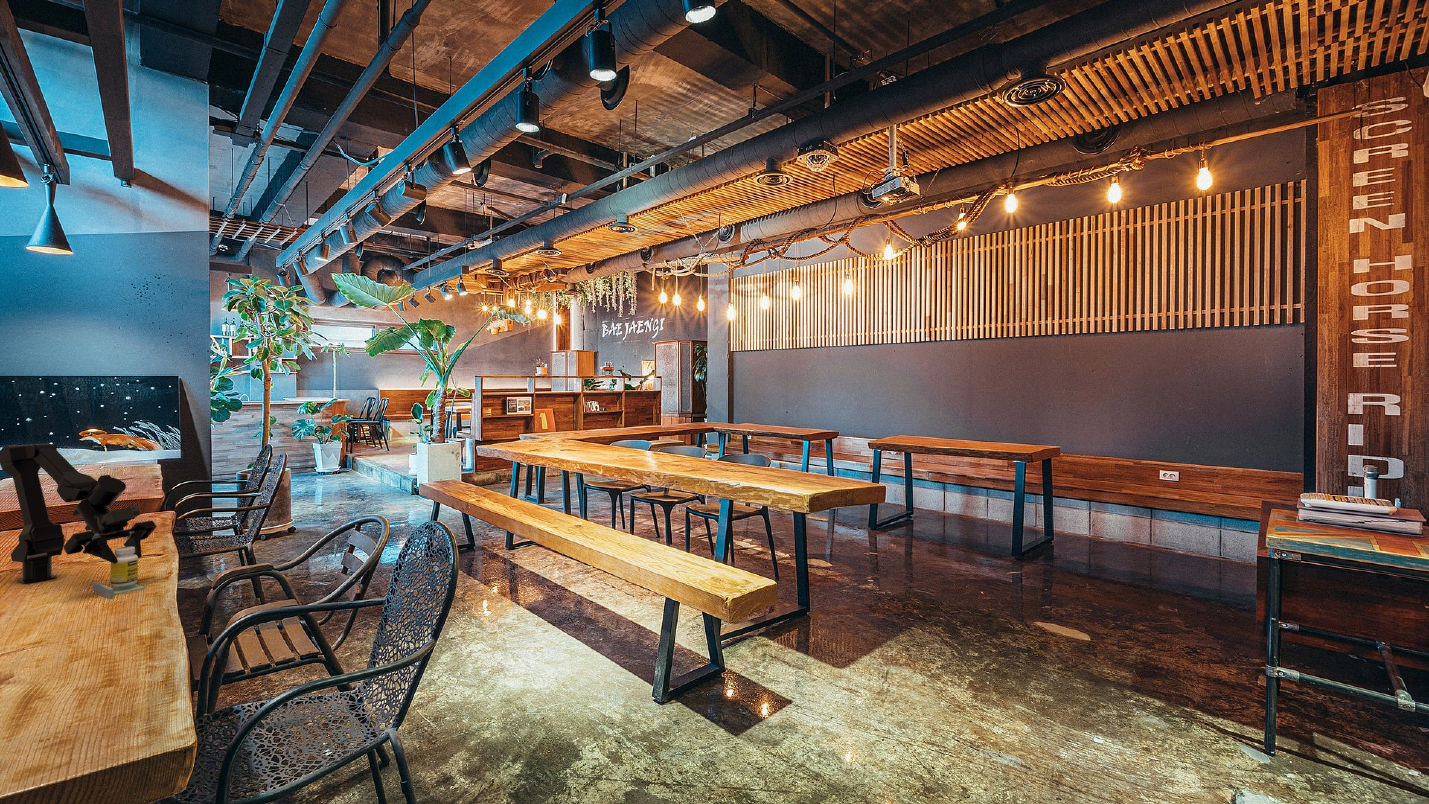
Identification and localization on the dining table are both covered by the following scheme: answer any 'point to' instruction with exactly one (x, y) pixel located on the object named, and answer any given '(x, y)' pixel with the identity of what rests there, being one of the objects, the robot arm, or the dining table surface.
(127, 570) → the supplement bottle
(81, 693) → the dining table surface
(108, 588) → the acrylic wall
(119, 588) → the coaster
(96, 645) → the dining table surface
